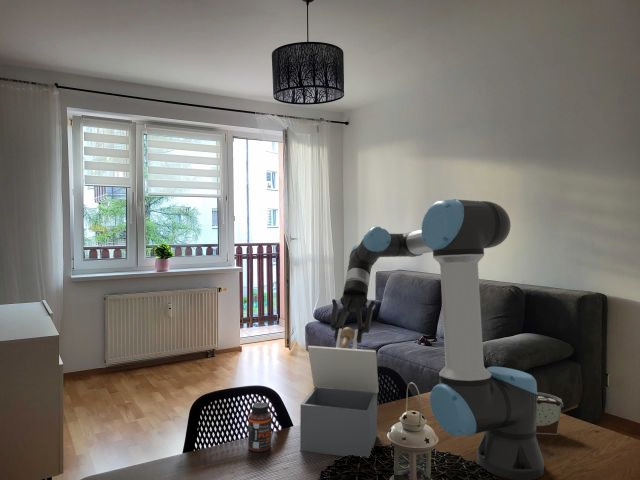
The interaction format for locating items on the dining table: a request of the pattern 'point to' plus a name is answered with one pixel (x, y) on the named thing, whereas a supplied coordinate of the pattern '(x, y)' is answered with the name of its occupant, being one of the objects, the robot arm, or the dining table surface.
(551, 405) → the food container
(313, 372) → the lid
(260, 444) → the supplement bottle
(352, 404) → the grey box
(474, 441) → the dining table surface
